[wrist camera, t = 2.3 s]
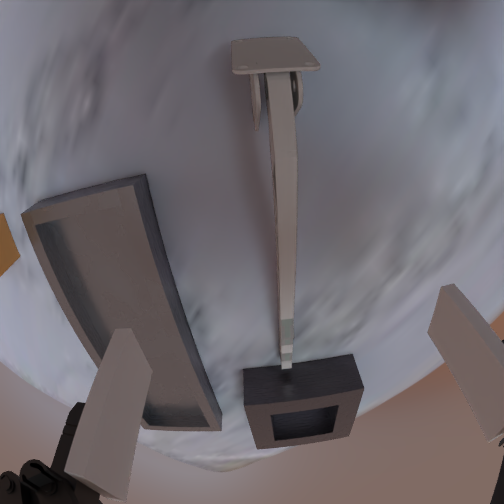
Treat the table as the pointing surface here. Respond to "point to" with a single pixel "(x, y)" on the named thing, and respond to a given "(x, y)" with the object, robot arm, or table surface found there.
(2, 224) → the tan rectangular block
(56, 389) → the table surface
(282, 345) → the bracket
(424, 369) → the table surface
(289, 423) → the socket
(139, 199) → the tray
